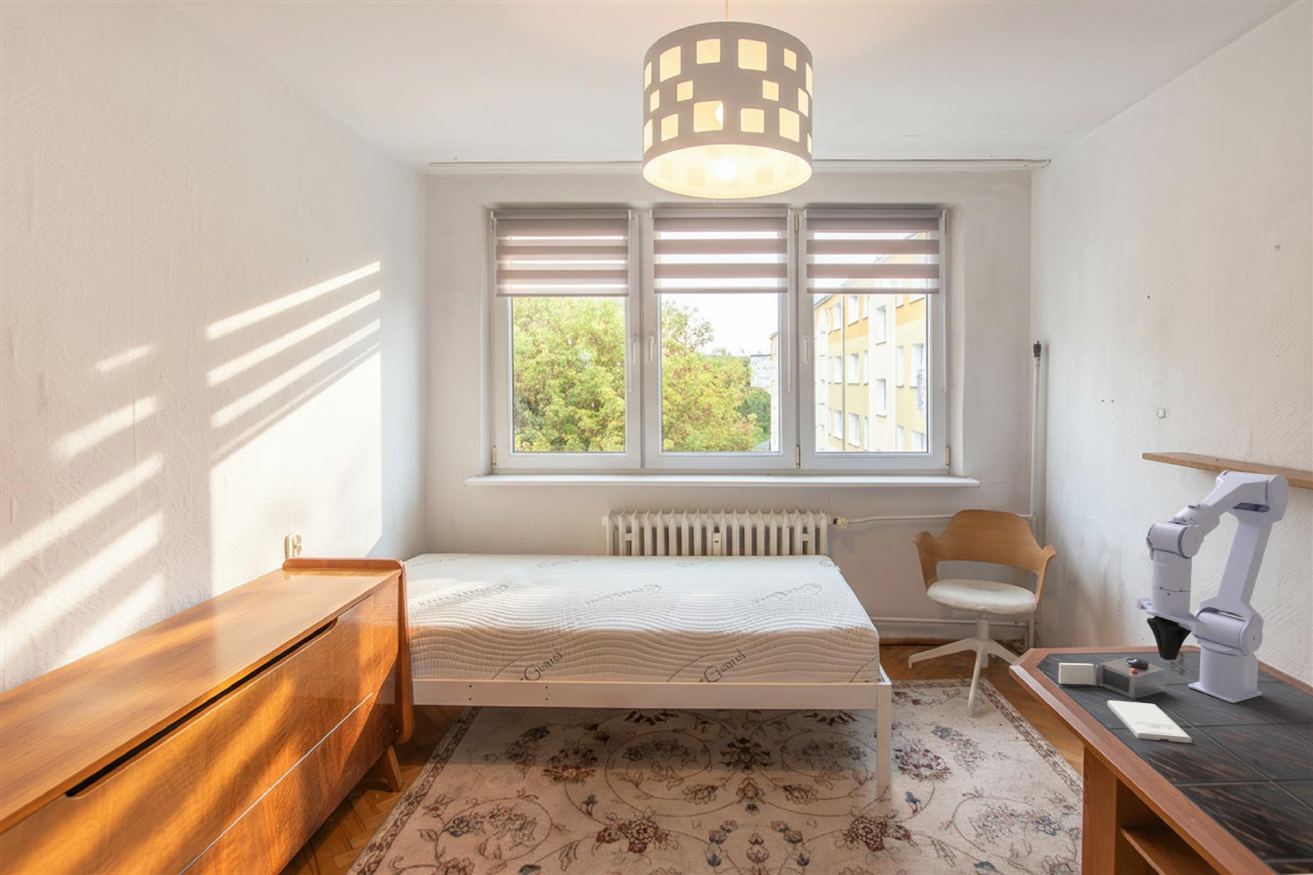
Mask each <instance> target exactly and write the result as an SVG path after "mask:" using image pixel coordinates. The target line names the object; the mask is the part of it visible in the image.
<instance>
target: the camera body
mask: <svg viewBox="0 0 1313 875" xmlns="http://www.w3.org/2000/svg"><path fill="white" fill-rule="evenodd" d="M1099 665H1100V666H1101V672H1100V686H1101V687H1103V686H1104V688H1106V689H1108V690H1111V691H1113V692H1115V693H1118V694H1120V695H1122V696H1125V697H1128V698H1130V699H1132V700H1136V699H1141V698H1144V697H1148V696H1152V695H1155V694H1160V693H1164V692H1165V690H1166V689H1165V688H1166V674H1167V672H1166V669H1165V668H1162V667H1159V666H1158V665H1155V664H1152V663H1150V662H1149V661H1147V660H1145V659H1142V658H1138V657H1132V656H1126V657H1121V658H1118V659H1112V660H1109V661H1102V662H1100V663H1099Z"/></svg>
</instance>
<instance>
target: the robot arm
mask: <svg viewBox="0 0 1313 875" xmlns="http://www.w3.org/2000/svg"><path fill="white" fill-rule="evenodd" d="M1214 483H1215V484H1214V489H1213V490H1212V491H1211V492H1210V493H1209V494H1208V495H1207V496H1206V497H1205V498H1204V499H1203V500H1202V501H1201V502H1192V501H1191V502H1189V503H1188V504H1187V505H1186V506H1185V507H1183V508H1182V509H1181V510H1179V511H1178V512H1177V513H1175V515H1173V516H1172V517H1170V518H1169V519H1168V520H1167V521H1158V522H1156V523H1153V524H1152V525H1151V526H1150V527H1149V529H1148V531H1147V534H1146V537H1145V543H1146V545H1147V548H1148V550H1149V558H1150V560H1151V561H1152V580H1151V581H1152V582H1151V598H1146V597H1144V598H1143V597H1140V598H1139V597H1138V598H1137V599H1136V600H1137V602H1136V604H1137V605H1136V608H1137V609H1139V610H1144V611H1145V614H1147V615H1150V616H1152V617H1148V618H1146V623H1147V624H1148V626H1149V628H1150V629H1151V631H1152V633H1153V635H1154V638H1155V642H1156V645H1157V649H1158V654H1159V657H1160V658H1161V659H1163V660H1164V661H1165V660H1166V661H1175V660H1177V658H1178V655H1179V653H1180V650H1181V648H1182V645H1183V644H1184V642H1185V640H1186V639H1187V638H1188V636H1189V635H1190V634H1191V635H1192V636H1193V637H1194V638H1195V639H1196V644H1199V645H1200V657H1199V658H1200V659H1199V662H1200V663H1199V681H1196V682H1191V683H1188V686H1187V687H1188V688H1191V689H1193V690H1196V691H1199V692H1202V693H1204V694H1207V695H1209V696H1212V697H1215V698H1218V699H1221V700H1223V701H1226V702H1228V703H1232V704H1235V703H1238V702H1242V701H1245V700H1249V699H1253V698H1256V697H1260V696H1263V692H1261V691H1260V690H1257V689H1258V688H1257V687H1258V675H1259V674H1258V673H1259V661H1258V658H1257V656H1256V654H1255V652H1257V651H1258V650H1259V648H1260V647H1261V644H1262V642H1263V638H1264V637H1263V635H1264V634H1263V629H1264V628H1263V627H1264V623H1265V622H1264V621H1265V620H1264V618H1263V617H1262V616H1261V614H1260V613H1259V612H1258V611H1256V609H1255V608H1254V607H1253V606H1252V605H1251V604H1250V603H1251V599H1252V598H1253V597H1252V596H1253V592H1254V590H1255V586H1256V583H1257V581H1258V580H1257V578H1258V575H1259V572H1260V569H1261V565H1262V562H1263V559H1264V556H1265V552H1266V549H1267V545H1268V543H1269V538H1270V535H1271V531H1272V528H1273V524H1274V523H1276V522H1280V521H1283V518H1284V515H1285V514H1286V510H1287V507H1288V503H1289V500H1290V497H1291V490H1290V485H1289V481H1288V480H1287V479H1286V478H1285V476H1283V475H1282V474H1264V473H1254V472H1244V471H1243V472H1242V471H1233V470H1232V469H1231V470H1230V469H1226V470H1223V471H1222V472H1221V473H1220V474H1219V475H1218V476H1216V480H1215V482H1214ZM1225 513H1228V514H1230V515H1232V516H1234V517H1235V518H1236V519H1237V521H1238V523H1237V527H1236V530H1235V534H1234V537H1233V540H1232V544H1231V547H1230V550H1229V554H1228V556H1227V560H1226V563H1225V567H1224V570H1223V573H1222V576H1221V581H1220V583H1219V586H1218V590H1217V593H1216V595H1213V596H1211V597H1209V598H1204V599H1202V600H1200V602H1199V604H1198V606H1197V608H1196V610H1195V612H1193V613H1192V612H1191V591H1192V590H1191V588H1192V570H1193V569H1192V567H1193V566H1192V565H1193V558H1194V557H1195V556H1197V554H1198V553H1199V551H1200V548H1201V546H1202V544H1203V543H1204V541H1205V537H1207V536H1208V535H1209V534H1210V533H1212V532H1213V531H1214V529H1216V528H1217V527H1218V526H1219V525H1220V521H1221V519H1220V517H1221V516H1222V515H1224V514H1225Z"/></svg>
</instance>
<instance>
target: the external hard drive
mask: <svg viewBox="0 0 1313 875" xmlns="http://www.w3.org/2000/svg"><path fill="white" fill-rule="evenodd" d="M1106 705H1107V707H1108V708H1109V709H1110V711H1111V712H1113V714H1114V715H1116V716H1117V718H1118V719H1119V720H1120V721H1121V722H1122V723H1123V725H1125V726H1126V727H1127V728H1128V730H1130V731H1131V733H1132V734H1133V735H1134V736H1135V737H1136V738H1137V739H1144V740H1145V739H1146V740H1155V741H1161V740H1162V741H1168V740H1169V741H1168V742H1174V743H1175V742H1177V743H1178V742H1179V743H1187V744H1192V737H1191V736H1190V735H1188V733H1186V732H1185V731H1184V730H1183V729H1182V727H1180V726H1179V725H1178V723H1176V722H1175V721H1173V720H1172V719H1171V718H1170V717H1169V716H1168V715H1167V714H1166V713H1165V712H1164V711H1163V710H1162V709H1160V707H1158V706H1157V705H1156V704H1154V703H1149V702H1148V703H1146V702H1136V701H1135V702H1134V701H1125V700H1124V701H1122V700H1107V702H1106Z"/></svg>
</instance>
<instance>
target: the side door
mask: <svg viewBox="0 0 1313 875" xmlns="http://www.w3.org/2000/svg"><path fill="white" fill-rule="evenodd" d="M1094 671H1095V673H1094ZM1100 672H1101V666H1100V664H1096V665H1094V664H1093V663H1079V662H1078V663H1076V662H1075V663H1074V662H1073V663H1071V662H1059V663H1058V681H1057V682H1058V683H1059V684H1065V685H1095V686H1101V685H1100ZM1094 677H1095V679H1094ZM1094 680H1095V684H1094Z"/></svg>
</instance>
